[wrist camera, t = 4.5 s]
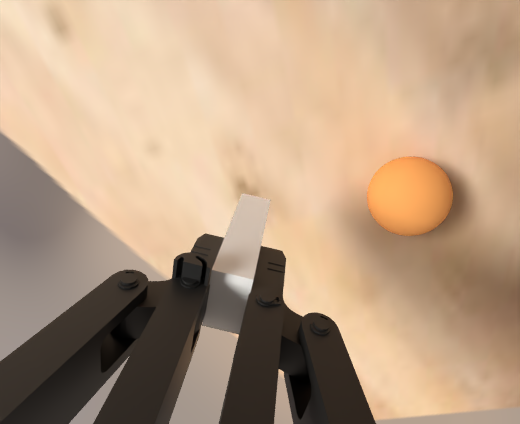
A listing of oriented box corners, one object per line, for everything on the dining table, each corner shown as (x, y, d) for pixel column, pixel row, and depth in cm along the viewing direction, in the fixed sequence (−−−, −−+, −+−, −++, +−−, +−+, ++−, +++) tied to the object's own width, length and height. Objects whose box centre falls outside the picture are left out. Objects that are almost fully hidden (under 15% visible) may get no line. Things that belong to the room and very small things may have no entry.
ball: (352, 203, 29) (361, 240, 24) (377, 138, 26) (392, 164, 21) (419, 219, 28) (442, 259, 24) (450, 156, 26) (483, 186, 21)
